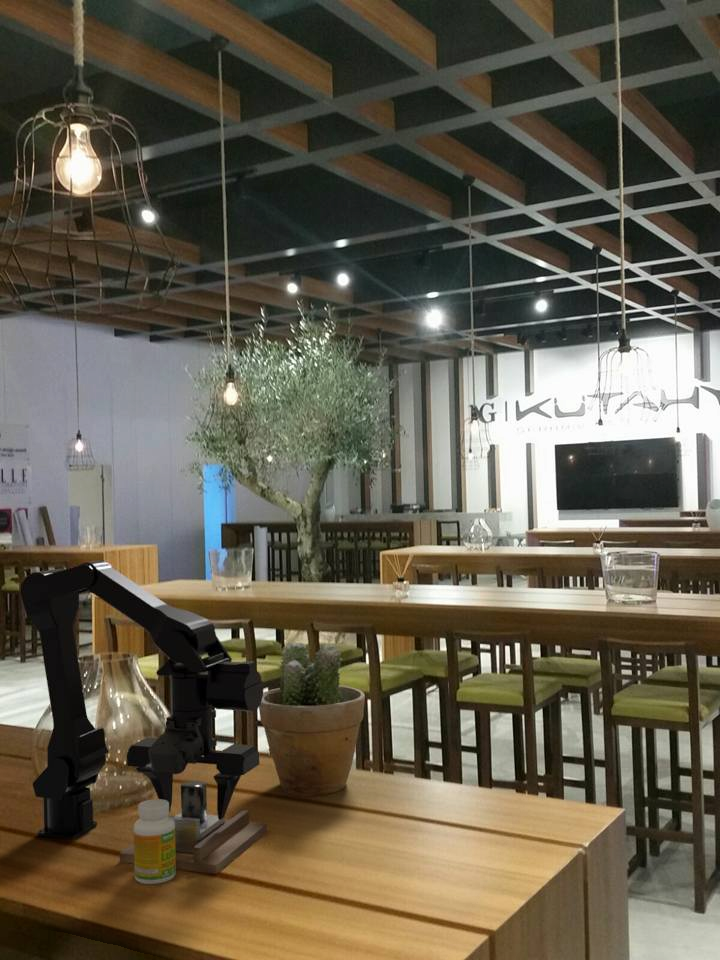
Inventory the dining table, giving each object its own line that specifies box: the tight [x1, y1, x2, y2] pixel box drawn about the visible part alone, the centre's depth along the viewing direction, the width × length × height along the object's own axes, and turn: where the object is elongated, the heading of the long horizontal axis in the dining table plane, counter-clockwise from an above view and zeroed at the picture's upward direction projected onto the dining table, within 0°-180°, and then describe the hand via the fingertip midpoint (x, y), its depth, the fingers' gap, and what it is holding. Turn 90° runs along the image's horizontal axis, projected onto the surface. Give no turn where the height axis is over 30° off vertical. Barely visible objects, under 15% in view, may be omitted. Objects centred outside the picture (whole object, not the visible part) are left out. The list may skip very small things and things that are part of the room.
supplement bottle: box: [133, 798, 177, 885], centre depth 126 cm, size 5×5×10 cm
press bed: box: [119, 809, 268, 875], centre depth 137 cm, size 15×16×3 cm
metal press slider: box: [169, 780, 225, 853], centre depth 135 cm, size 7×8×7 cm
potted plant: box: [258, 641, 366, 797], centre depth 163 cm, size 18×19×25 cm
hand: (194, 815), depth 136 cm, fingers open, 8 cm apart
